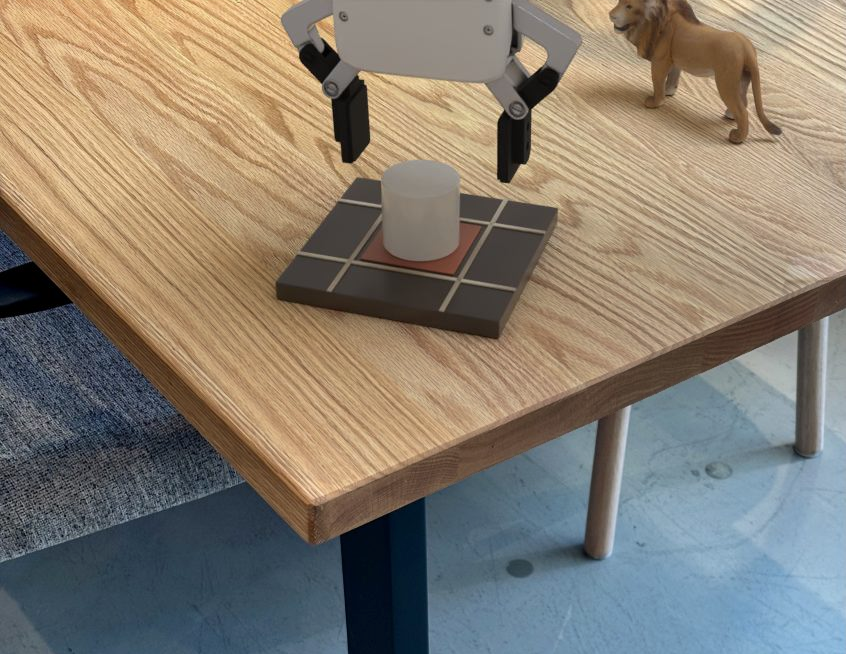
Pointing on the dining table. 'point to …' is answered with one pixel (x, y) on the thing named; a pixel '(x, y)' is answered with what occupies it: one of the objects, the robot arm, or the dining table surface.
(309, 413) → the dining table surface
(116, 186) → the dining table surface
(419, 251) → the white plastic cylinder
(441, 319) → the board
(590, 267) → the dining table surface
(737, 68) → the lion figurine
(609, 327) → the dining table surface
